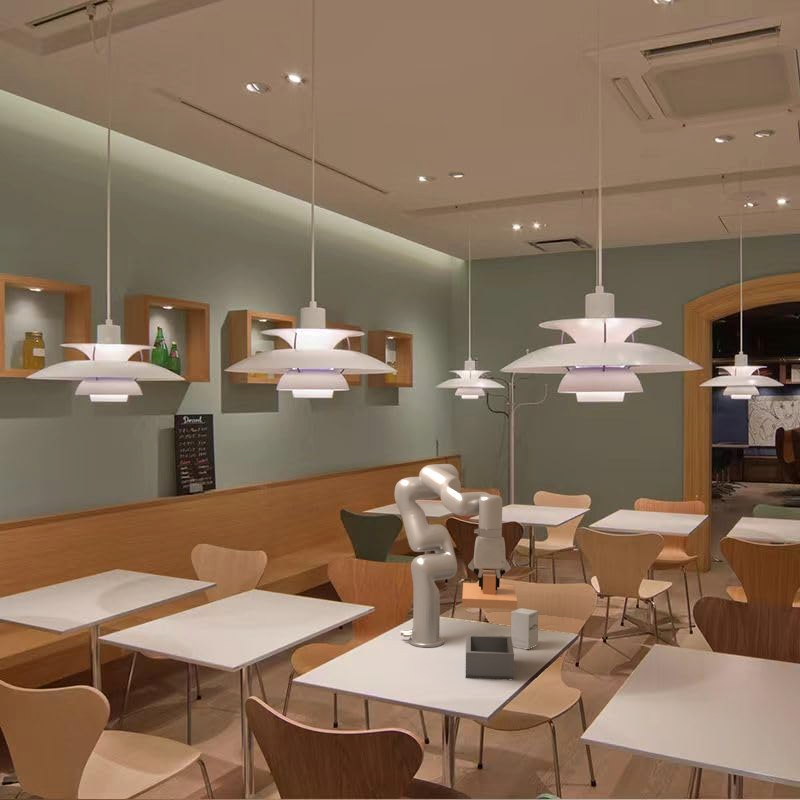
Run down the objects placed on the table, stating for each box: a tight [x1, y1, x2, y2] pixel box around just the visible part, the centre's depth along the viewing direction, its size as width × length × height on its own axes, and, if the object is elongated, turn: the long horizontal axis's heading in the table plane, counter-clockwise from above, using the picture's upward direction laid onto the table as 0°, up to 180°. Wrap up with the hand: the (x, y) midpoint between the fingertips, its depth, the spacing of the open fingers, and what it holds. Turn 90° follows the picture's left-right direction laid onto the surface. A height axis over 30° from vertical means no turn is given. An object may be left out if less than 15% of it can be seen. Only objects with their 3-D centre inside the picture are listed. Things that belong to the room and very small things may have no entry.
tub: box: [465, 634, 515, 681], centre depth 269 cm, size 15×20×8 cm
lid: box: [461, 569, 518, 610], centre depth 269 cm, size 17×22×9 cm
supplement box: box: [510, 607, 539, 650], centre depth 294 cm, size 7×7×13 cm
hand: (489, 588), depth 269 cm, fingers closed on lid, 4 cm apart
